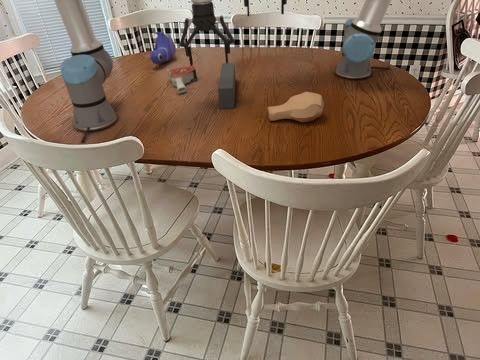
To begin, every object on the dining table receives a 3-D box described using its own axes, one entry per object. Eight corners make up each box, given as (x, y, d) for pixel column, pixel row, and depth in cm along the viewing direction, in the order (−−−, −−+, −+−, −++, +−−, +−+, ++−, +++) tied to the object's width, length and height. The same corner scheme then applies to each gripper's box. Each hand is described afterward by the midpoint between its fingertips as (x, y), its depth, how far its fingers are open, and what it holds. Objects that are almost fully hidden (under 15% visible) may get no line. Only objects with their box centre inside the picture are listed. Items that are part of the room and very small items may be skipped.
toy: (164, 64, 198) (143, 70, 176) (159, 31, 191) (137, 33, 169) (180, 63, 196) (162, 69, 173) (176, 30, 189) (156, 32, 167)
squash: (327, 123, 123) (327, 101, 117) (270, 133, 125) (267, 112, 119) (321, 105, 131) (320, 84, 124) (267, 115, 133) (264, 94, 126)
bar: (234, 107, 137) (232, 87, 133) (219, 108, 138) (218, 88, 133) (235, 80, 161) (234, 62, 156) (223, 81, 161) (222, 63, 156)
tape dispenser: (182, 98, 151) (209, 79, 163) (180, 86, 147) (208, 68, 160) (151, 89, 158) (180, 72, 171) (149, 78, 155) (178, 61, 167)
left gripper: (238, -3, 126) (241, 58, 138) (168, 3, 127) (178, 62, 139) (238, 1, 120) (242, 64, 132) (164, 7, 121) (175, 69, 133)
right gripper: (297, -52, 132) (295, 10, 144) (231, -47, 133) (234, 14, 145) (300, -50, 126) (297, 14, 138) (230, -46, 127) (234, 18, 139)
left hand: (209, 63), depth 136 cm, fingers open, 13 cm apart
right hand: (265, 14), depth 142 cm, fingers open, 13 cm apart
